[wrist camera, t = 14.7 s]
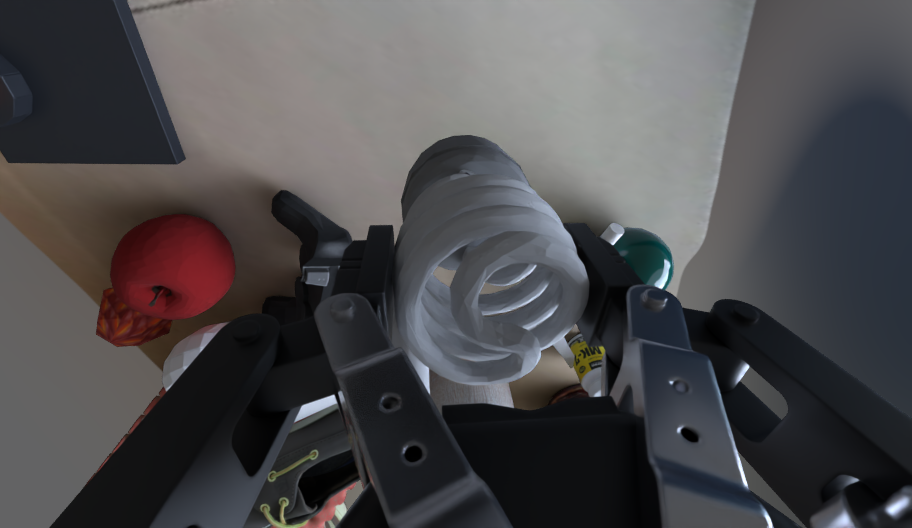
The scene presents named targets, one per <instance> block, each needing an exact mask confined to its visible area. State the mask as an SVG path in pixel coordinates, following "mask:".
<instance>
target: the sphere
mask: <svg viewBox="0 0 912 528" xmlns="http://www.w3.org/2000/svg"><path fill="white" fill-rule="evenodd" d="M623 229H624V233H623V235H622V236H621V237H620V238H619V239H618V240H617V241H616V243H615V244H614V245H613V246H614V247H615V249H616V250H617V251H618V252H619V253H620V256H622V257H623V258H624V259H625V261H626V263H628V264H629V266H630V267H631V268H632V269H633V270H634V272H635V273H636V274H637V275H638V276H639V278H640V279H641V280H642V281H643V283H644V284H645V285H651V286H655V287H658V288H661V289H663V290H666V288H667V287H668V285H669V283H670V281H671V279H672V277H673V270H674V262H673V258H672V254H671V251H670V249H669V247H668V246H667V245H666V244H665V243H664V242H663V241H662V240H661V239H660V237H658V236H657V235H656V234H654V233H651V232H649V231H646V230H644V229H641V228H628V227H627V228H623Z"/></svg>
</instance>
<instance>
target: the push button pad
mask: <svg viewBox="0 0 912 528" xmlns="http://www.w3.org/2000/svg"><path fill="white" fill-rule="evenodd" d="M0 151H1V152H2V154H3V155H4V157H5V159H6V160H7V162H8V163H78V164H179V163H180V162H182V161H183V160H185V159H186V158H185V156H184V153H183V150H182V148H181V145H180V142H179V140H178V137H177V134H176V132H175V129H174V126H173V123H172V121H171V118H170V115H169V113H168V110H167V107H166V105H165V102H164V99H163V97H162V94H161V91H160V89H159V86H158V83H157V81H156V78H155V75H154V73H153V70H152V67H151V64H150V62H149V59H148V56H147V54H146V51H145V48H144V46H143V43H142V40H141V38H140V35H139V32H138V30H137V27H136V24H135V22H134V19H133V16H132V14H131V11H130V8H129V5H128V3H127V0H0Z"/></svg>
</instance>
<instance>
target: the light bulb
mask: <svg viewBox="0 0 912 528" xmlns="http://www.w3.org/2000/svg"><path fill="white" fill-rule="evenodd" d="M401 204H402V217H403V225H402V226H401V228H400V231H399V235H398V238H397V241H396V244H395V251H394V265H393V272H392V286H393V295H394V312H395V318H396V323H397V326H398V329H399V332H400V335H401V337H402V338H403V340H404V342H405V343H406V345H407V346H408V348H409V349H410V351H411V352H412V354H413V355H414V356H415V357H416V358H417V359H418V360H419V361H421V362H422V363H423V364H424V365H425V366H426V367H428V368H429V369H431V370H432V371H434V372H435V373H437V374H438V375H440V376H442V377H444V378H446V379H449V380H452V381H455V382H458V383H463V384H468V385H489V384H502V383H508V382H511V381H514V380H517V379H520V378H521V377H523V376H524V375H526V374H527V373H529V372H530V371H531V370H533V369H534V368H535V366H536V364H537V363H538V361H539V359H540V358H541V350H544V349H546V348H548V347H550V346H551V345H553V344H554V343H556V342H557V341H559V340H560V339H561V338H563V337H564V336H565V335H566V334H567V333H568V332H569V331H570V330H571V329H572V328H573V326H574V325H575V324H576V323H577V322H578V320H579V319H580V318H581V316H582V314H583V312H584V310H585V308H586V305H587V303H588V297H589V285H590V283H589V280H588V276H587V273H586V269H585V266H584V264H583V263H582V261H581V260H580V259H579V257H578V255H577V250H576V246H575V244H574V242H573V239H572V237H571V235H570V234H569V233H568V232H567V231H566V229H565V228H564V226H563V224H562V222H561V220H560V218H559V216H558V215H557V214H556V212H555V211H554V210H553V209H552V208H551V206H550V205H549V204H548V203H547V202H545V201H544V200H543V199H541V198H540V197H539V196H538V194H537V193H536V192H535V191H534V190H533V189H531V187H530V185H529V183H528V181H527V179H526V177H525V175H524V173H523V171H522V169H521V167H520V166H519V165H518V164H517V163H516V162H515V161H514V160H513V159H512V158H511V157H510V156H508V155H507V154H506V153H505V152H504V151H503V150H502V149H501V148H500V147H499V146H498V145H496V144H495V143H493V142H491V141H489V140H487V139H485V138H481V137H477V136H472V135H461V136H452V137H449V138H445V139H442V140H439V141H437V142H436V143H435V144H433V145H432V146H430V147H429V148H428V149H426V150H425V151H424V152H422V153H421V155H420V156H419V158H418V159H417V161H416V162H415V164H414V165H413V167H412V168H411V170H410V171H409V174H408V177H407V181H406V184H405V188H404V191H403V195H402V199H401ZM437 266H440V267H443V268H445V269H448V270H457V271H456V273H455V276H454V278H453V281H452V283H451V286H450V287H448V286H446V285H445V284H443V283H441V282H440V281H439V280H438V279H437V278H436V277H435V276H434V275H433V274H432V273H433V272H434V270H435V269H436V267H437ZM532 271H533V272H532ZM531 272H532V273H531ZM530 273H531V274H530ZM528 274H530V275H529V276H527V275H528ZM526 276H527V277H526ZM524 277H526V278H525V279H524V280H523V281H522V282H521V283H519V284H517V285H515V286H513V287H511V288H509V289H507V290H503V291H499V292H496V293H492V294H482V295H480V291H481V289H482V287H483V285H484V283H485V282H486V283H489V284H491V285H496V286H507V285H510V284H514V283H516V282H518V281H520V280H521V279H523V278H524ZM539 295H540V296H539ZM538 296H539V297H538ZM535 298H536V299H535ZM534 299H535V300H534ZM532 300H534V301H532ZM530 301H532V302H531V303H529V302H530ZM527 303H529V304H528V305H526V306H525V307H523V308H521V309H519V310H516V311H514V312H511V313H507V314H503V315H498V316H491V317H484V316H483V315H491V314H497V313H503V312H508V311H510V310H513V309H516V308H518V307H521V306H523V305H525V304H527ZM549 316H550V317H549ZM548 317H549V318H548ZM546 318H548V319H546ZM545 319H546V320H545ZM543 320H545V321H544V322H543V323H542V324H540V325H539V326H538V327H536V328H534V329H532V330H530V331H529V330H527V329H529V328H532V327H534V326H536V325H538V324H539V323H541V322H542V321H543ZM460 358H462V359H467V360H472V361H467V360H462V359H460ZM473 361H476V362H473Z"/></svg>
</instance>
